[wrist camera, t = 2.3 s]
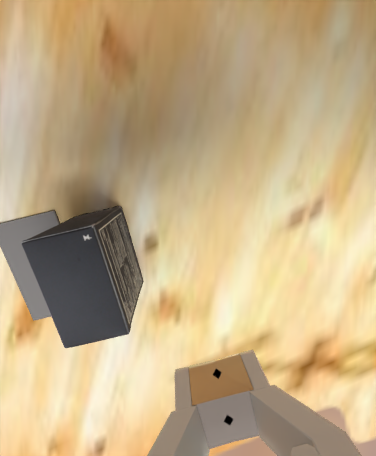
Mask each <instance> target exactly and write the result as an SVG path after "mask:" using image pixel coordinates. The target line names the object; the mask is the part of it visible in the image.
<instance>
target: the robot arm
mask: <svg viewBox="0 0 376 456" xmlns="http://www.w3.org/2000/svg"><path fill="white" fill-rule="evenodd" d="M175 408H176V411H173V412H171V414H170V415H169V417H168V419H167V421H166V423H165V424H164V426H163V428H162V430H161V432H160V434H159V435H158V437H157V439H156V441H155V443H154V444H153V446H152V448H151V450H150V452H149V453H148V455H147V456H208V455H209V452H210V451H209V449H211V448H214V447H218V446H221V445H224V444H228V443H231V442H234V441H239V440H243V439H247V438H252V437H256V436H259V437H260V438H261V439H262V440H263V441H264V442H265V443H266V445H267V446H268V447H269V448H270V449H271V450H272V451H273V452H274V453H275V454H276V455H277V456H362V455H361V454H360V452H359V451H358V449H357V448H356V446H355V445H354V444H353V442H352V441H351V439H350V438H349V436H348V435H347V433H346V432H345V431H343V430H342V429H340V428H339V427H337V426H336V425H334V424H333V423H331V422H330V421H328V420H327V419H325V418H324V417H322V416H321V415H319V414H318V413H316V412H315V411H313V410H312V409H310V408H309V407H307V406H306V405H304V404H303V403H301V402H300V401H298V400H297V399H295V398H293V397H292V396H290V395H289V394H287V393H286V392H284V391H283V390H281V389H280V388H278V387H277V386H275V385H272V386H270V384H269V382H268V380H267V378H266V376H265V374H264V372H263V370H262V368H261V365H260V363H259V361H258V359H257V357H256V355H255V353H254V351H253V350H249V351H245V352H242V353H239V354H235V355H231V356H228V357H224V358H220V359H217V360H213V361H209V362H204V363H200V364H196V365H192V366H189V367H184V368H180V369H176V370H175Z"/></svg>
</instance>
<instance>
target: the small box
mask: <svg viewBox="0 0 376 456" xmlns="http://www.w3.org/2000/svg"><path fill="white" fill-rule="evenodd" d="M21 244H22V247H23V249H24V251H25V254H26V256H27V258H28V261H29V263H30V266H31V268H32V270H33V273H34V275H35V277H36V280H37V282H38V285H39V287H40V289H41V292H42V294H43V297H44V299H45V301H46V304H47V306H48V309H49V311H50V313H51V316H52V318H53V321H54V323H55V326H56V328H57V330H58V333H59V335H60V338H61V340H62V343H63V345H64V347H65V348H70V347H75V346H79V345H84V344H88V343H92V342H97V341H101V340H105V339H110V338H114V337H118V336H122V335H126V334H129V332H130V328H131V322H132V318H133V315H134V310H135V308H136V304H137V300H138V297H139V294H140V290H141V287H142V284H143V278H142V275H141V271H140V268H139V264H138V261H137V257H136V254H135V250H134V247H133V243H132V240H131V236H130V233H129V230H128V226H127V223H126V220H125V217H124V213H123V210H122V207H120V206H115V207H113V208H110V209H109V208H108V209H104V210H102V211H97V212H92V213H86V214H83V215H79V216H76V217H73V218H71V219H69V220H67V221H65V222H63V223H61V224H59V225H57V226H55V227H52V228H50V229H48V230H46V231H44V232H42V233H40V234H38V235H36V236H33V237H31V238H29V239H27V240H24V241H22V242H21Z"/></svg>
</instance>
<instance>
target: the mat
mask: <svg viewBox="0 0 376 456" xmlns="http://www.w3.org/2000/svg"><path fill="white" fill-rule="evenodd" d="M59 224H60V223H59V220H58V217H57V215H56V212H55V210H54V211H50V212H46V213H42V214H38V215H33V216H29V217H25V218H21V219H17V220H13V221H9V222H5V223H1V224H0V247H1V249H2V251H3V253H4V256H5V258H6V260H7V262H8V264H9V267H10V269H11V271H12V273H13V276H14V278H15V280H16V282H17V285H18V287H19V289H20V291H21V294H22V296H23V298H24V300H25V303H26V305H27V307H28V309H29V311H30V314H31V316H32V318H33V320H38V319H42V318H46V317H50V316H51V313H50V311H49V309H48V306H47V304H46V301H45V299H44V297H43V294H42V292H41V289H40V287H39V285H38V282H37V280H36V277H35V275H34V273H33V270H32V268H31V266H30V263H29V261H28V258H27V256H26V254H25V251H24V249H23V247H22V244H21V242H22V241H24V240H27V239H29V238H31V237H33V236H36V235H38V234H40V233H42V232H44V231H46V230H48V229H50V228H52V227H55V226H57V225H59Z"/></svg>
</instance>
